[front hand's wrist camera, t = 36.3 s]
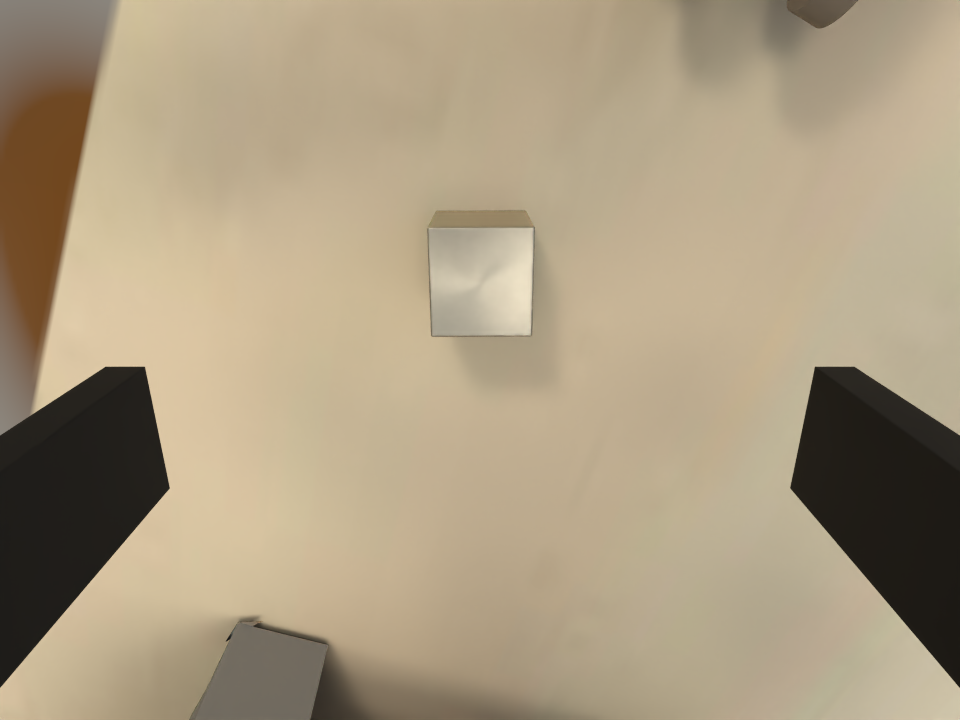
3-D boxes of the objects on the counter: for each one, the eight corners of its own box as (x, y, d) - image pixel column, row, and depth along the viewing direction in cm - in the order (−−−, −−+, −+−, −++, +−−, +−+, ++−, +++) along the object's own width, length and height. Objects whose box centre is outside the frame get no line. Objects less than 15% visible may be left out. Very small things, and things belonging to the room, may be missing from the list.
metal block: (438, 304, 29) (431, 337, 25) (435, 210, 28) (427, 227, 23) (524, 304, 29) (532, 336, 25) (526, 210, 28) (534, 227, 23)
